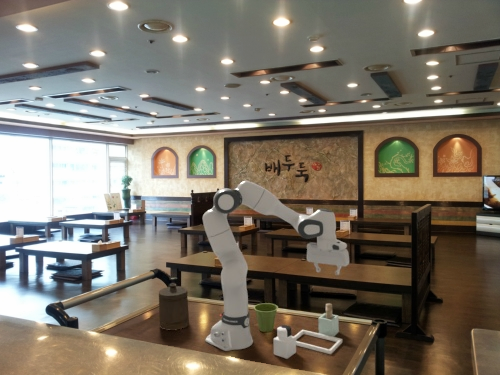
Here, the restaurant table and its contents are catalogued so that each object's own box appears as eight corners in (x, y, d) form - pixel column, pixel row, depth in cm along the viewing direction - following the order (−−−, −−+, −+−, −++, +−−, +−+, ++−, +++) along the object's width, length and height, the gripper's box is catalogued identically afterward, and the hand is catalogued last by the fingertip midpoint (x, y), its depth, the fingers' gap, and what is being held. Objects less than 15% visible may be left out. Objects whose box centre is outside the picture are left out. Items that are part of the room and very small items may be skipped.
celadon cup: (318, 336, 195) (318, 317, 194) (324, 330, 201) (324, 312, 200) (332, 339, 191) (332, 320, 190) (338, 334, 197) (338, 315, 196)
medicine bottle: (282, 348, 185) (282, 322, 184) (296, 352, 180) (295, 325, 179) (273, 354, 179) (272, 327, 178) (287, 359, 175) (286, 331, 174)
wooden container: (192, 319, 221) (190, 278, 219) (185, 331, 206) (182, 288, 204) (164, 319, 222) (162, 279, 221) (156, 331, 208) (153, 288, 206)
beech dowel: (325, 333, 195) (324, 305, 194) (327, 331, 198) (327, 303, 197) (331, 335, 194) (330, 306, 193) (333, 332, 196) (333, 304, 195)
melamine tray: (289, 345, 187) (289, 340, 187) (302, 334, 198) (302, 329, 198) (330, 356, 176) (330, 350, 176) (342, 344, 186) (342, 339, 186)
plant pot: (276, 335, 198) (276, 312, 197) (252, 333, 200) (251, 311, 200) (280, 325, 210) (279, 303, 209) (257, 323, 212) (256, 302, 211)
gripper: (303, 243, 195) (304, 272, 196) (344, 247, 183) (345, 278, 184) (309, 240, 200) (311, 268, 201) (350, 244, 188) (351, 274, 189)
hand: (327, 273), depth 192 cm, fingers open, 8 cm apart
